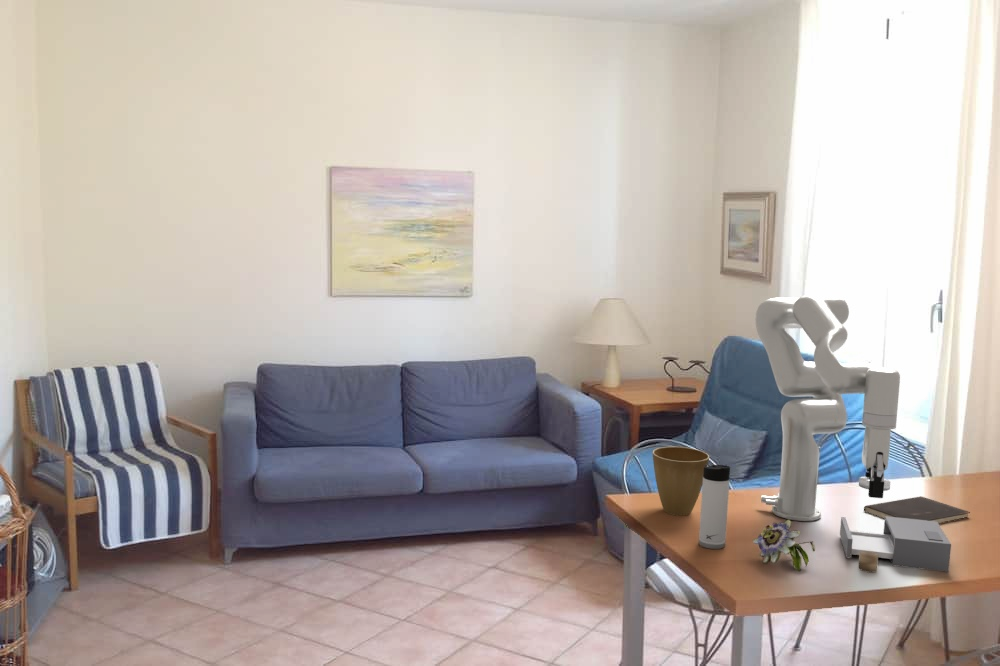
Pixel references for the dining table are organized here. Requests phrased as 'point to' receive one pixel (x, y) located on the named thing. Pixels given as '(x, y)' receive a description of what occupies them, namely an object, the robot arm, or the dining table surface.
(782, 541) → the passion flower
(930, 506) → the hardcover book
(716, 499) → the travel mug
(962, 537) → the dining table surface
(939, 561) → the housing
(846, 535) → the tray
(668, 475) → the plant pot
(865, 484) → the disc
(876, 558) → the stand
